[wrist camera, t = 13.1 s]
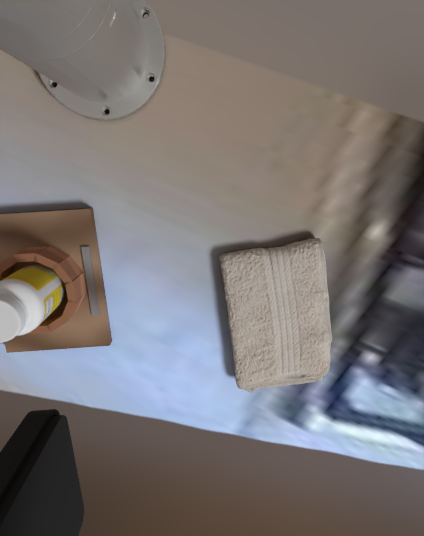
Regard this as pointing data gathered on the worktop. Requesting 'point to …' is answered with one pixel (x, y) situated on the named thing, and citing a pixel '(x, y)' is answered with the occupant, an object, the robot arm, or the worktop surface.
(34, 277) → the supplement bottle
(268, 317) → the washcloth
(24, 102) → the worktop surface
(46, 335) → the cup station
